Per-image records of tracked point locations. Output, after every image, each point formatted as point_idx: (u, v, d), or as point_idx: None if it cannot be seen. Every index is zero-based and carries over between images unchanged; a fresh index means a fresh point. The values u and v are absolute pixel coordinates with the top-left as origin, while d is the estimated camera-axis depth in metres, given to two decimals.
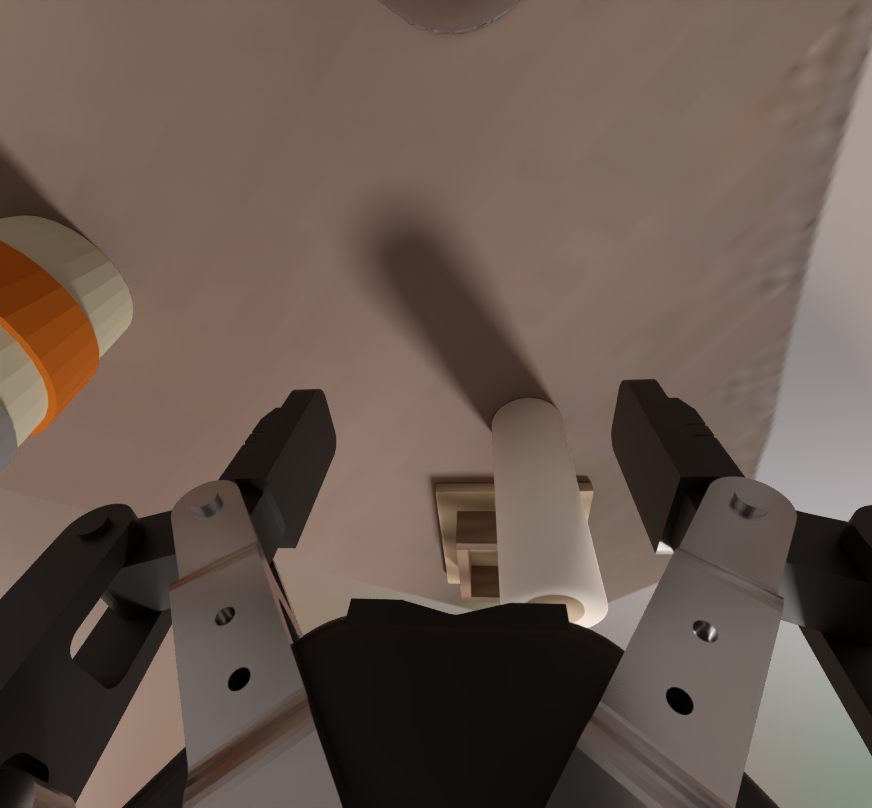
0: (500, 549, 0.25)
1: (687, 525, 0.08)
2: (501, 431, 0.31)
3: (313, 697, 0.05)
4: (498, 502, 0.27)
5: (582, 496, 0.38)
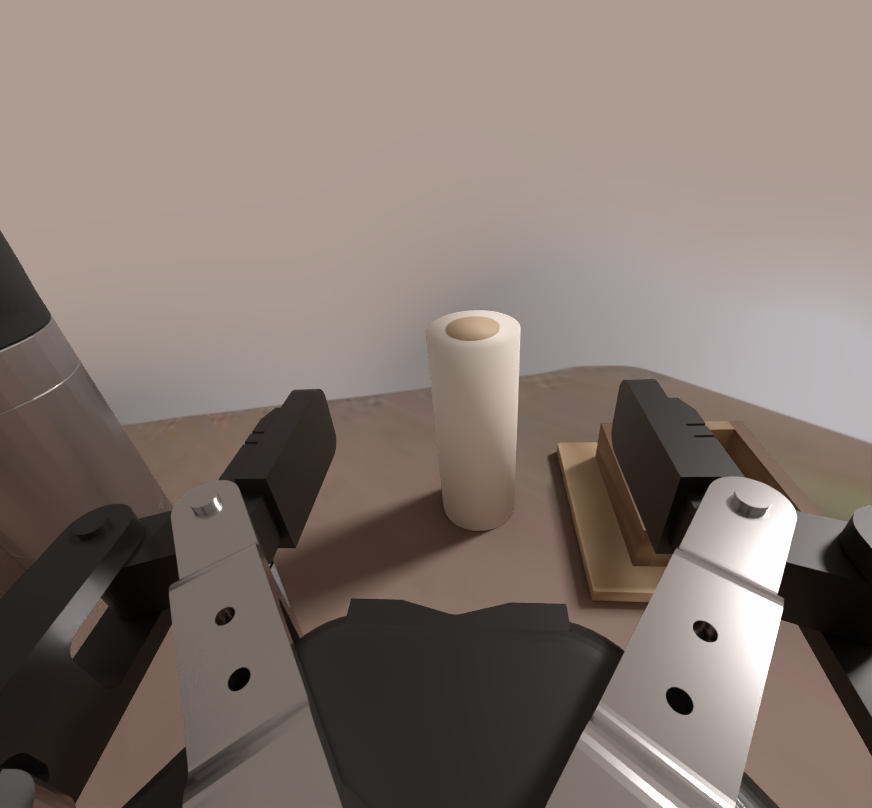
0: (458, 396, 0.25)
1: (687, 525, 0.08)
2: (452, 498, 0.31)
3: (313, 697, 0.05)
4: (460, 440, 0.27)
5: (567, 449, 0.36)
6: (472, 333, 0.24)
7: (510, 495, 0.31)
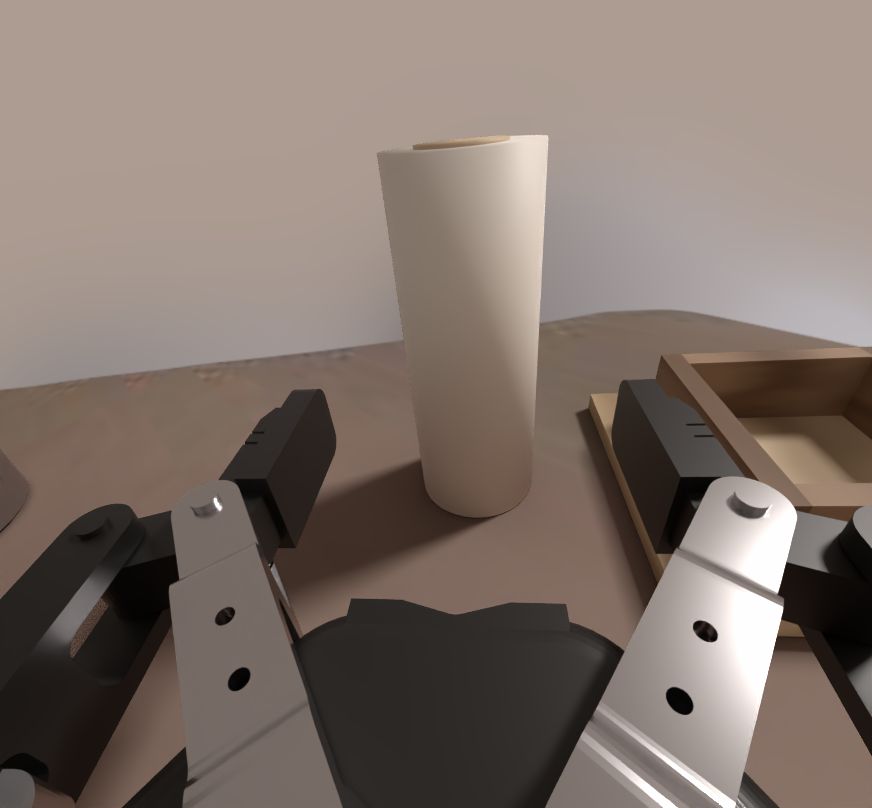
0: (437, 262, 0.14)
1: (687, 525, 0.08)
2: (435, 466, 0.19)
3: (313, 697, 0.05)
4: (442, 355, 0.15)
5: (606, 401, 0.25)
6: (460, 142, 0.13)
7: (527, 459, 0.19)
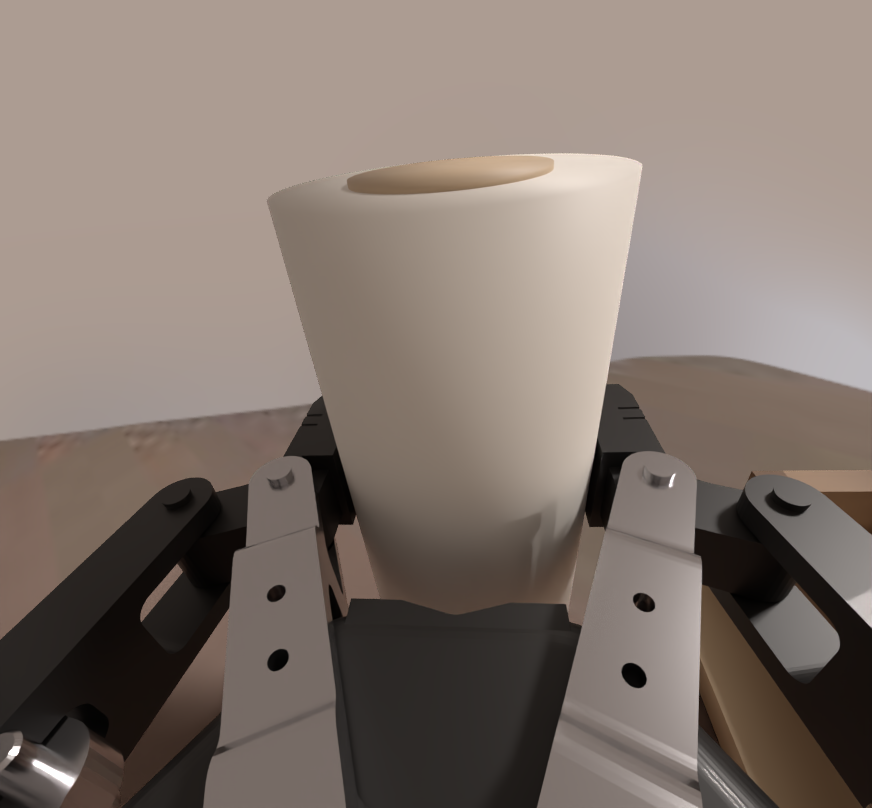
0: (396, 432, 0.06)
1: (610, 497, 0.08)
2: None
3: (344, 694, 0.05)
4: (415, 565, 0.08)
5: None
6: (445, 176, 0.06)
7: None
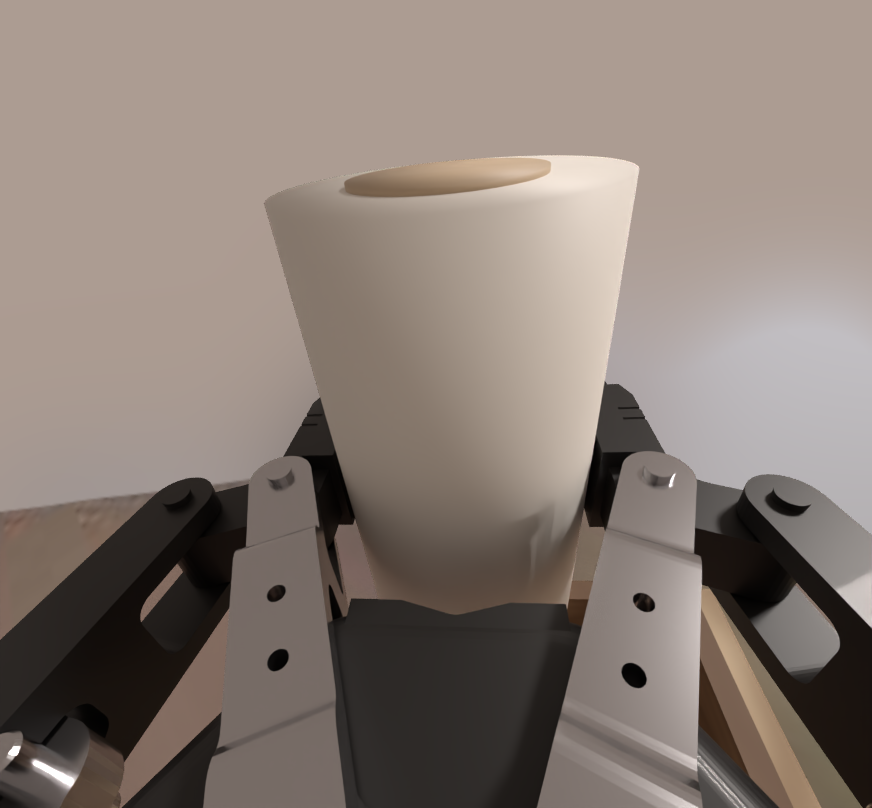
0: (393, 434, 0.06)
1: (610, 497, 0.08)
2: None
3: (344, 695, 0.05)
4: (413, 567, 0.08)
5: None
6: (442, 178, 0.06)
7: None
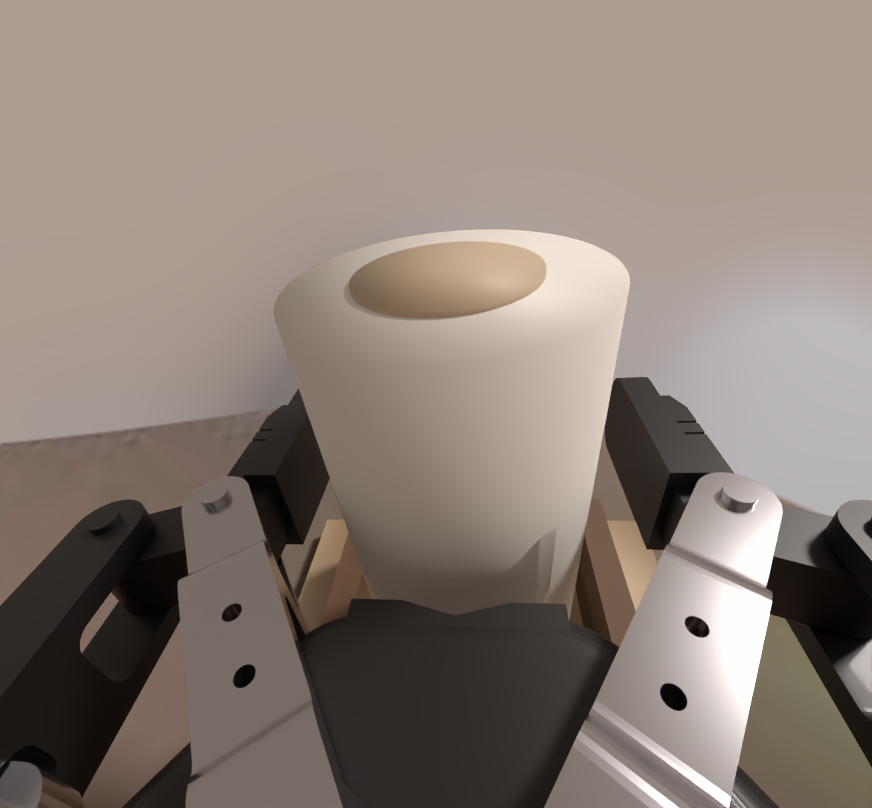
0: (398, 525, 0.07)
1: (676, 520, 0.08)
2: None
3: (317, 696, 0.05)
4: None
5: (336, 533, 0.22)
6: (442, 290, 0.06)
7: None
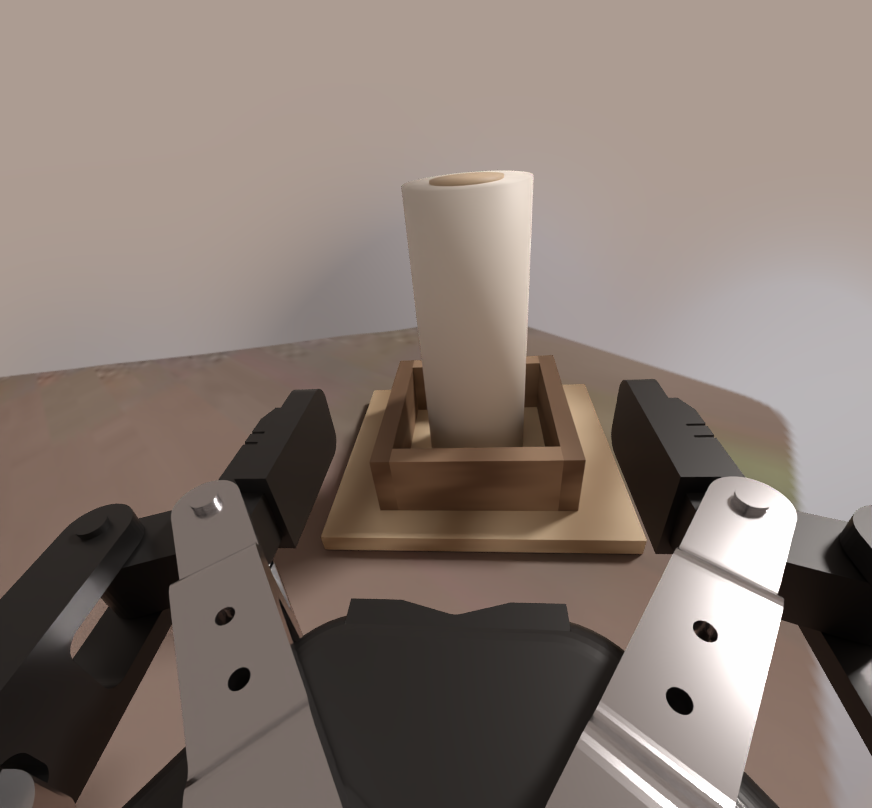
0: (447, 271, 0.18)
1: (687, 525, 0.08)
2: (442, 436, 0.23)
3: (313, 697, 0.05)
4: (450, 343, 0.20)
5: (381, 396, 0.32)
6: (465, 180, 0.17)
7: (518, 431, 0.24)
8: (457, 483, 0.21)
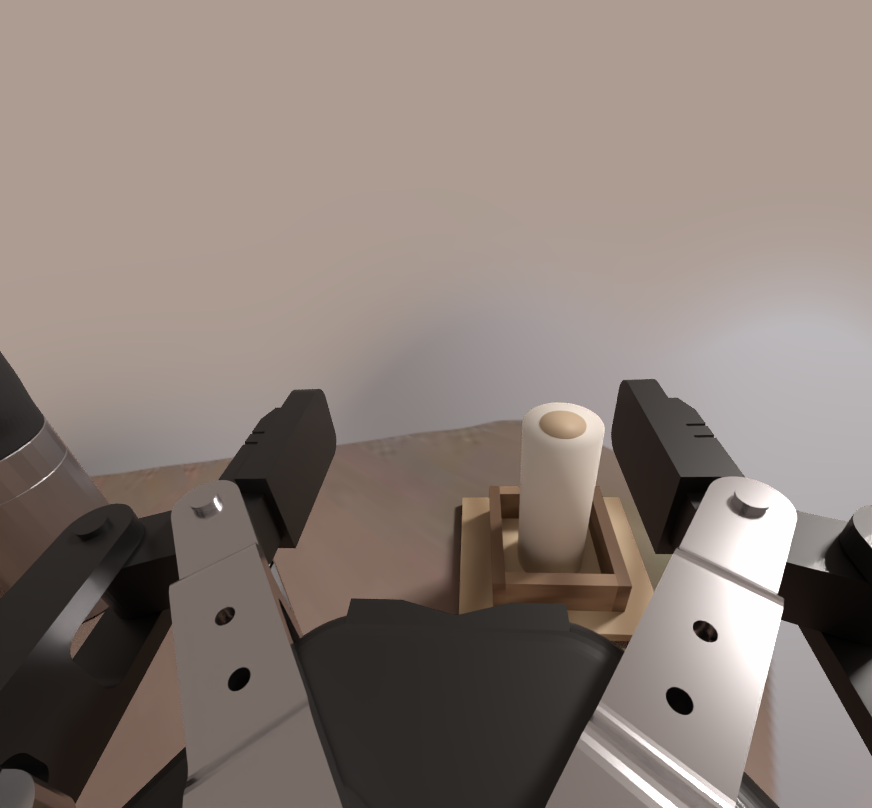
0: (552, 482, 0.30)
1: (687, 525, 0.08)
2: (532, 557, 0.35)
3: (313, 697, 0.05)
4: (548, 514, 0.32)
5: (469, 504, 0.44)
6: (564, 431, 0.29)
7: (582, 553, 0.36)
8: (547, 595, 0.33)
